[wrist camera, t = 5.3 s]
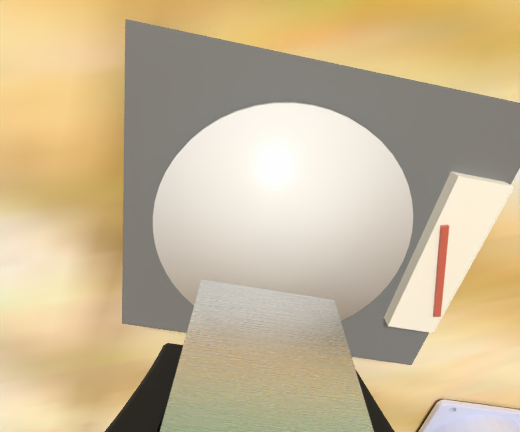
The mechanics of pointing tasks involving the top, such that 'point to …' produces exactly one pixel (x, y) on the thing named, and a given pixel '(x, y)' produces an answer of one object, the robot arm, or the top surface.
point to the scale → (304, 185)
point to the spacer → (264, 366)
